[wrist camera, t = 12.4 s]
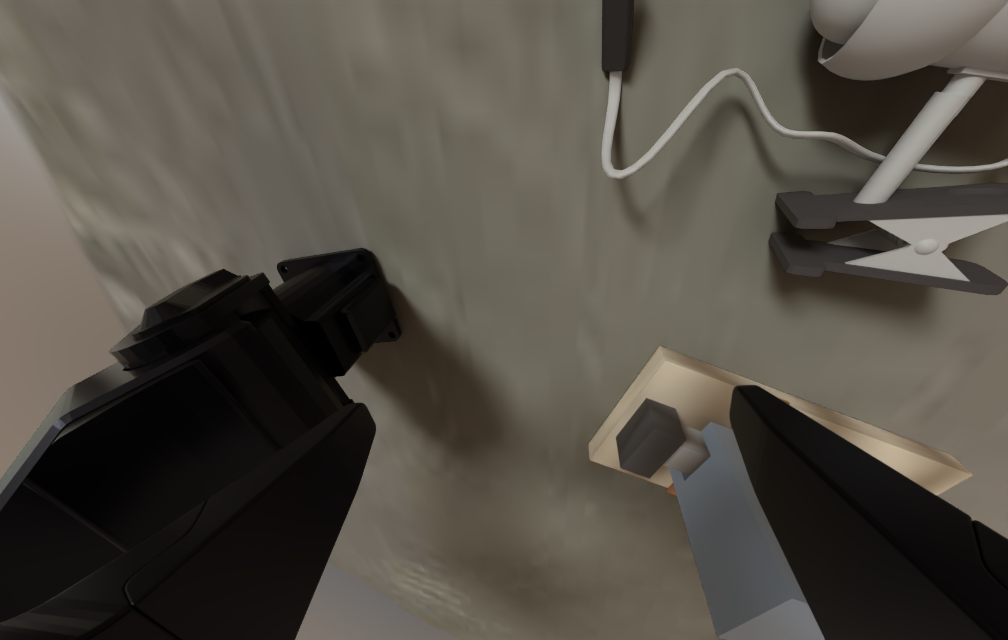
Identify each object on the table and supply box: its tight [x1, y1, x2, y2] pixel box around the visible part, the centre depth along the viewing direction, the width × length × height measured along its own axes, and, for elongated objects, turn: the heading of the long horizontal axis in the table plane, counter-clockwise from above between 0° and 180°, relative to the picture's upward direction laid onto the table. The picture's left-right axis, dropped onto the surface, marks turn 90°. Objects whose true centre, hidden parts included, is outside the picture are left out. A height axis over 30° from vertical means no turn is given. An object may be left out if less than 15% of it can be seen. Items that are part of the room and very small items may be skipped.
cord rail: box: [589, 346, 973, 496], centre depth 24 cm, size 20×11×4 cm, turn 71°
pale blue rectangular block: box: [669, 422, 825, 640], centre depth 19 cm, size 5×5×9 cm
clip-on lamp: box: [601, 0, 1008, 295], centre depth 13 cm, size 12×6×18 cm
